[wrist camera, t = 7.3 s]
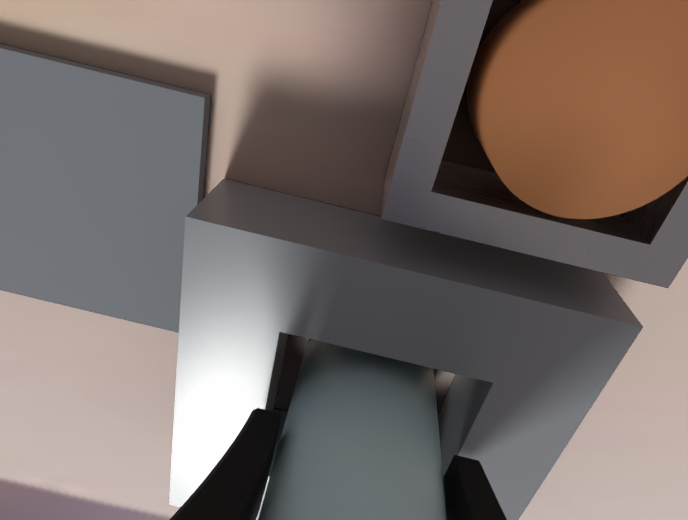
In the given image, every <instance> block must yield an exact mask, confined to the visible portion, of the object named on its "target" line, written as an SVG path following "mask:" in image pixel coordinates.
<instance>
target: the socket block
mask: <svg viewBox="0 0 688 520" xmlns="http://www.w3.org/2000/svg"><path fill="white" fill-rule="evenodd" d="M642 328H643V326H642V325H641V324H640V322H639V321H638V319H637V318H636V317H635V315H634V314H633V313H632V311H631V310H630V309H629V307H628V306H627V305H626V303H625V302H624V301H623V299H622V298H621V297H620V295H619V294H618V293H617V291H616V290H615V289H614V287H613V286H612V285H611V283H610V282H609V281H608V279H607V278H606V276H605V275H604V274H603V272H599V271H595V270H591V269H586V268H582V267H578V266H574V265H570V264H566V263H562V262H557V261H553V260H549V259H545V258H541V257H537V256H533V255H529V254H524V253H520V252H516V251H512V250H508V249H504V248H500V247H495V246H491V245H487V244H483V243H479V242H475V241H471V240H467V239H462V238H458V237H454V236H450V235H446V234H442V233H438V232H433V231H429V230H425V229H421V228H417V227H413V226H409V225H405V224H400V223H396V222H392V221H388V220H384V219H381V217H380V216H376V215H372V214H368V213H364V212H359V211H355V210H351V209H347V208H343V207H339V206H335V205H331V204H326V203H322V202H318V201H314V200H310V199H306V198H302V197H297V196H293V195H289V194H285V193H281V192H277V191H273V190H269V189H264V188H260V187H256V186H252V185H248V184H244V183H240V182H235V181H231V180H227V179H223V180H222V181H221V182H220V183H219V184H218V185H217V186H216V187H215V188H214V189H213V190H212V191H211V192H210V193H209V194H208V195H207V196H206V197H205V198H204V199H203V200H202V201H201V202H200V203H199V204H198V205H197V206H196V207H195V208H194V209H193V210H192V211H191V212H190V213H189V214H188V215H187V216H186V217H185V234H184V251H183V269H182V286H181V303H180V321H179V338H178V355H177V373H176V390H175V408H174V425H173V442H172V460H171V477H170V494H169V505H173V506H178V507H181V506H182V505H183V504H184V503H185V502H186V501H187V500H188V498H189V497H190V496H191V495H192V494H193V493H194V492H195V490H196V489H197V488H198V487H199V486H200V485H201V483H202V482H203V481H204V480H205V479H206V477H207V476H208V475H209V473H210V472H211V471H212V470H213V468H214V467H215V466H216V464H217V463H218V462H219V461H220V459H221V458H222V457H223V455H224V454H225V453H226V451H227V450H228V449H229V447H230V446H231V444H232V443H233V442H234V440H235V439H236V437H237V436H238V434H239V433H240V431H241V430H242V428H243V426H244V425H245V423H246V421H247V420H248V418H249V416H250V414H251V412H252V410H254V409H256V408H260V409H264V410H269V411H273V412H277V413H281V414H282V417H281V422H280V426H279V431H278V436H277V440H276V445H275V450H274V455H273V459H272V464H271V469H270V472H269V476H268V480H267V484H266V487H265V491H264V495H263V498H262V502H261V506H260V510H259V513H258V515H257V518H256V520H258V518H259V514H260V511H261V507H262V504H263V500H264V496H265V493H266V489H267V485H268V482H269V478H270V475H271V471H272V467H273V464H274V460H275V457H276V453H277V449H278V446H279V442H280V439H281V435H282V431H283V428H284V424H285V421H286V417H287V413H288V412H286V411H282V410H277V409H274V404H275V399H276V394H277V389H278V384H279V379H280V374H281V368H282V363H283V358H284V353H285V348H286V343H287V338H288V334H291V335H295V336H300V337H304V338H308V339H312V340H316V341H321V342H325V343H329V344H333V345H337V346H341V347H346V348H350V349H354V350H358V351H362V352H366V353H371V354H375V355H379V356H383V357H387V358H392V359H396V360H400V361H404V362H408V363H412V364H417V365H421V366H425V367H429V368H433V369H437V370H442V371H446V372H450V373H454V374H456V375H455V377H454V379H453V382H452V384H451V386H450V389H449V391H448V393H447V396H446V398H445V400H444V402H443V405H442V407H441V409H440V412H439V414H438V425H439V437H440V448H441V460H442V471H443V477H444V475H445V473H446V471H447V469H448V467H449V465H450V463H451V461H452V458H453V456H454V455H458V456H462V457H466V458H470V459H474V460H479V462H480V463H481V465H482V467H483V469H484V472H485V474H486V476H487V478H488V480H489V483H490V485H491V487H492V489H493V491H494V493H495V495H496V498H497V500H498V502H499V504H500V506H501V508H502V510H503V512H504V514H505V516H506V519H507V520H519V518H520V516H521V515H522V513H523V512H524V510H525V509H526V507H527V506H528V504H529V503H530V501H531V499H532V498H533V496H534V495H535V493H536V492H537V490H538V489H539V487H540V485H541V484H542V482H543V481H544V479H545V478H546V476H547V475H548V473H549V472H550V470H551V468H552V467H553V465H554V464H555V462H556V461H557V459H558V458H559V456H560V455H561V453H562V451H563V450H564V448H565V447H566V445H567V444H568V442H569V441H570V439H571V438H572V436H573V434H574V433H575V431H576V430H577V428H578V427H579V425H580V424H581V422H582V421H583V419H584V417H585V416H586V414H587V413H588V411H589V410H590V408H591V407H592V405H593V403H594V402H595V400H596V399H597V397H598V396H599V394H600V393H601V391H602V390H603V388H604V386H605V385H606V383H607V382H608V380H609V379H610V377H611V376H612V374H613V373H614V371H615V369H616V368H617V366H618V365H619V363H620V362H621V360H622V359H623V357H624V356H625V354H626V352H627V351H628V349H629V348H630V346H631V345H632V343H633V342H634V340H635V339H636V337H637V335H638V334H639V332H640V331H641V329H642Z"/></svg>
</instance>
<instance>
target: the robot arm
mask: <svg viewBox="0 0 688 520" xmlns="http://www.w3.org/2000/svg"><path fill="white" fill-rule="evenodd" d="M281 417H282V414H281V413H277V412H273V411H269V410H264V409H260V408H256V409H254V410H252V412H251V414H250V416H249V418H248V420H247V421H246V423H245V425H244V426H243V428H242V430H241V431H240V433H239V434H238V436H237V437H236V439H235V440H234V442H233V443H232V444H231V446H230V447H229V449H228V450H227V451H226V453H225V454H224V455H223V457H222V458H221V459H220V461H219V462H218V463H217V464H216V466H215V467H214V468H213V470H212V471H211V472H210V473H209V475H208V476H207V477H206V479H205V480H204V481H203V482H202V483H201V485H200V486H199V487H198V488H197V489H196V490H195V492H194V493H193V494H192V495H191V496H190V497H189V498H188V500H187V501H186V502H185V503H184V504H183V505H182V506H181V508H180V509H179V510H178V511H177V512H176V513H175V514H174V515H173V517H172V518H171V519H170V520H256V518H257V515H258V513H259V510H260V506H261V502H262V498H263V495H264V491H265V487H266V484H267V480H268V476H269V472H270V469H271V464H272V459H273V455H274V450H275V445H276V440H277V436H278V431H279V426H280V422H281ZM443 482H444V494H445V505H446V516H447V520H507V519H506V516H505V514H504V512H503V510H502V508H501V506H500V504H499V502H498V500H497V498H496V495H495V493H494V491H493V489H492V487H491V485H490V483H489V480H488V478H487V476H486V474H485V472H484V469H483V467H482V465H481V463H480V462H479V460H474V459H470V458H466V457H462V456H458V455H454V456H453V458H452V461H451V463H450V465H449V467H448V469H447V471H446V473H445V475H444V477H443Z"/></svg>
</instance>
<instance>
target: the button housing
mask: <svg viewBox="0 0 688 520" xmlns="http://www.w3.org/2000/svg"><path fill="white" fill-rule="evenodd" d="M492 2H493V0H433V2H432V5H431V9H430V13H429V16H428V20H427V24H426V28H425V31H424V35H423V39H422V43H421V46H420V50H419V54H418V57H417V61H416V65H415V69H414V72H413V76H412V80H411V83H410V87H409V91H408V95H407V98H406V102H405V106H404V110H403V113H402V117H401V121H400V124H399V128H398V132H397V136H396V139H395V143H394V147H393V151H392V154H391V158H390V162H389V165H388V169H387V173H386V177H385V183H384V193H383V204H382V214H381V219H384V220H388V221H392V222H396V223H400V224H405V225H409V226H413V227H417V228H421V229H425V230H429V231H433V232H438V233H442V234H446V235H450V236H454V237H458V238H462V239H467V240H471V241H475V242H479V243H483V244H487V245H491V246H495V247H500V248H504V249H508V250H512V251H516V252H520V253H524V254H529V255H533V256H537V257H541V258H545V259H549V260H553V261H557V262H562V263H566V264H570V265H574V266H578V267H582V268H586V269H591V270H595V271H599V272H603V273H607V274H611V275H615V276H620V277H624V278H628V279H632V280H636V281H640V282H644V283H648V284H653V285H657V286H661V287H665V288H668V287H669V286H670V284H671V283H672V281H673V280H674V278H675V277H676V275H677V274H678V272H679V270H680V269H681V267H682V266H683V264H684V263H685V261H686V260H687V258H688V176H687V177H686V178H685V179H684V180H683V181H681V182H680V183H679V184H677V185H676V186H675V187H674V188H672V189H671V190H670V191H668V192H666V193H665V194H663V195H662V196H660V197H659V198H657V199H655V200H653V201H651V202H649V203H647V204H645V205H644V206H641V207H639V208H636V209H634V210H631V211H628V212H625V213H622V214H618V215H614V216H609V217H604V218H597V219H569V218H564V217H558V216H554V215H551V214H547V213H544V212H542V211H539V210H537V209H535V208H533V207H531V206H529V205H528V204H526V203H525V202H523V201H522V200H520V199H519V198H518V197H517V196H516V195H514V194H513V193H512V192H511V191H510V190H509V189H508V188H507V186H506V185H505V184H504V183H503V182H502V180H501V179H500V177H499V176H498V174H497V173H494V172H490V171H486V170H482V169H478V168H474V167H469V166H465V165H461V164H457V163H453V162H449V161H445V160H442V157H443V154H444V150H445V147H446V144H447V141H448V138H449V135H450V132H451V129H452V126H453V123H454V119H455V116H456V113H457V110H458V107H459V104H460V101H461V98H462V95H463V92H464V88H465V85H466V82H467V79H468V76H469V73H470V70H471V67H472V64H473V60H474V57H475V54H476V51H477V48H478V45H479V42H480V39H481V36H482V33H483V29H484V26H485V23H486V20H487V17H488V14H489V11H490V8H491V5H492Z"/></svg>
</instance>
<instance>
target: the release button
mask: <svg viewBox="0 0 688 520" xmlns="http://www.w3.org/2000/svg"><path fill="white" fill-rule="evenodd" d="M467 108H468V115H469V118H470V122H471V126H472V128H473V130H474V132H475V135H476V137H477V138H478V140H479V142H480V144H481V146H482V147H483V149H484V151H485V153H486V155H487V156H488V158H489V160H490V162H491V164H492V165H493V167H494V169H495V171H496V172H497V174H498V176H499V177H500V179H501V180H502V182H503V183H504V184H505V185H506V186H507V188H508V189H509V190H510V191H511V192H512V193H513V194H514V195H516V196H517V197H518V198H519V199H520V200H522V201H523V202H525V203H526V204H528V205H529V206H531V207H533V208H535V209H537V210H539V211H542V212H544V213H547V214H551V215H554V216H558V217H564V218H569V219H597V218H604V217H609V216H614V215H618V214H622V213H625V212H628V211H631V210H634V209H636V208H639V207H641V206H644V205H645V204H647V203H649V202H651V201H653V200H655V199H657V198H659V197H660V196H662V195H663V194H665V193H666V192H668V191H670V190H671V189H672V188H674V187H675V186H676V185H677V184H679V183H680V182H681V181H683V180H684V179H685V178H686V177H687V176H688V0H522V1H521V2H520V3H518V4H517V5H515V6H514V7H513V8H511V9H510V10H509V11H508V12H507V13H506V14H505V15H504V16H503V17H501V18H500V20H499V21H498V22H497V23H496V24H495V25H494V26H493V28H492V29H491V30H490V32H489V33H488V34H487V36H486V37H485V39H484V40H483V42H482V44H481V46H480V48H479V50H478V51H477V53H476V56H475V59H474V61H473V64H472V67H471V70H470V74H469V78H468V86H467Z"/></svg>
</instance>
